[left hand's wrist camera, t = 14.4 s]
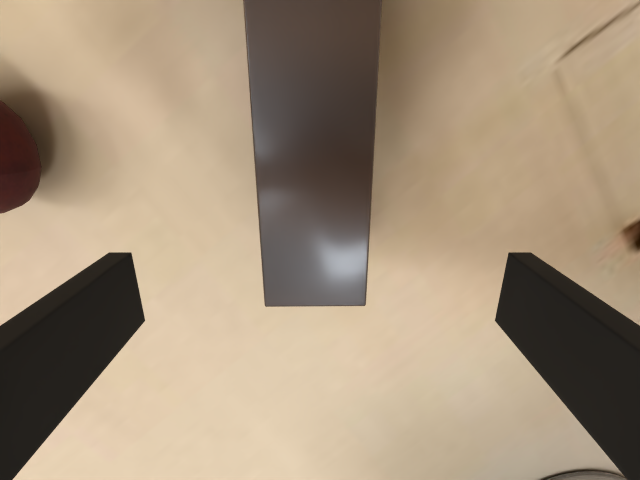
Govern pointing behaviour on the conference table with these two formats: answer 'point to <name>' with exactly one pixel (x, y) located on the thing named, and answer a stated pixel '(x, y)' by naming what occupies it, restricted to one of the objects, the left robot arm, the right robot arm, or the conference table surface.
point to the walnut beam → (313, 144)
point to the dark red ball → (16, 161)
